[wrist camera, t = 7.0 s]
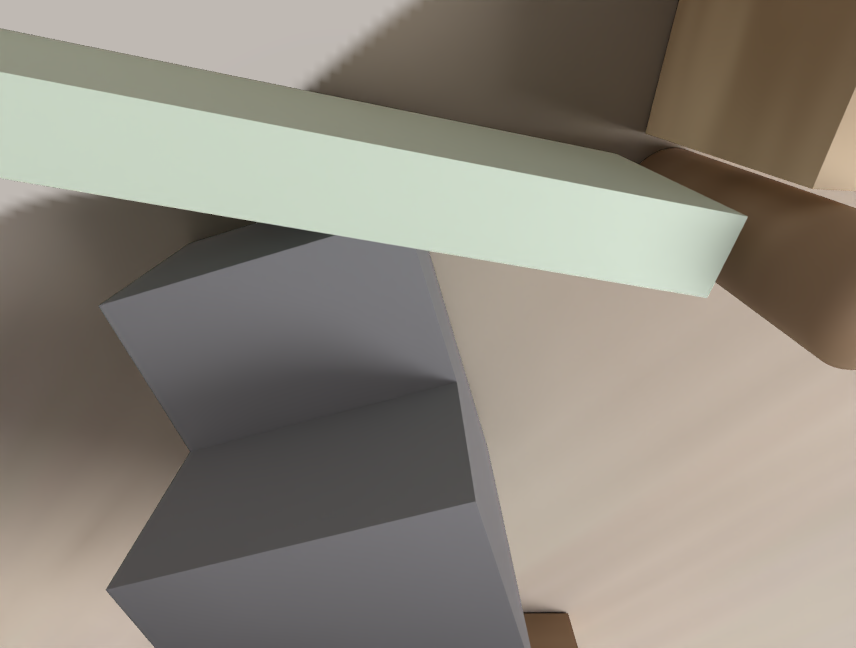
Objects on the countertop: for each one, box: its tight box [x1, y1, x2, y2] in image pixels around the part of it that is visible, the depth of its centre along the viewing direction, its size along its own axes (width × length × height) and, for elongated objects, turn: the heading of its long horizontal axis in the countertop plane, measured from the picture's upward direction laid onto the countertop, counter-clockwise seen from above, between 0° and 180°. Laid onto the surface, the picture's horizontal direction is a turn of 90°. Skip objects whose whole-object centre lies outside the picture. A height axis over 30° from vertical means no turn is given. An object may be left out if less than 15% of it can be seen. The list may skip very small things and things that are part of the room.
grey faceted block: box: [99, 222, 531, 648], centre depth 8 cm, size 4×6×5 cm, turn 16°
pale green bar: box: [0, 29, 748, 298], centre depth 6 cm, size 10×2×4 cm, turn 79°
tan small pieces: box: [524, 0, 856, 648], centre depth 9 cm, size 18×1×4 cm, turn 177°
